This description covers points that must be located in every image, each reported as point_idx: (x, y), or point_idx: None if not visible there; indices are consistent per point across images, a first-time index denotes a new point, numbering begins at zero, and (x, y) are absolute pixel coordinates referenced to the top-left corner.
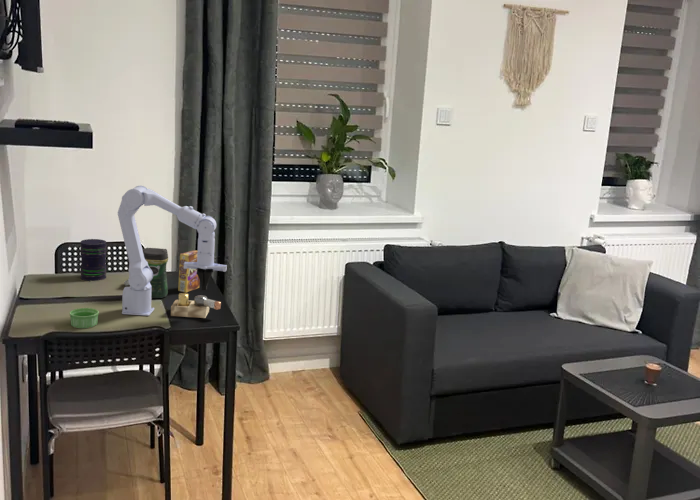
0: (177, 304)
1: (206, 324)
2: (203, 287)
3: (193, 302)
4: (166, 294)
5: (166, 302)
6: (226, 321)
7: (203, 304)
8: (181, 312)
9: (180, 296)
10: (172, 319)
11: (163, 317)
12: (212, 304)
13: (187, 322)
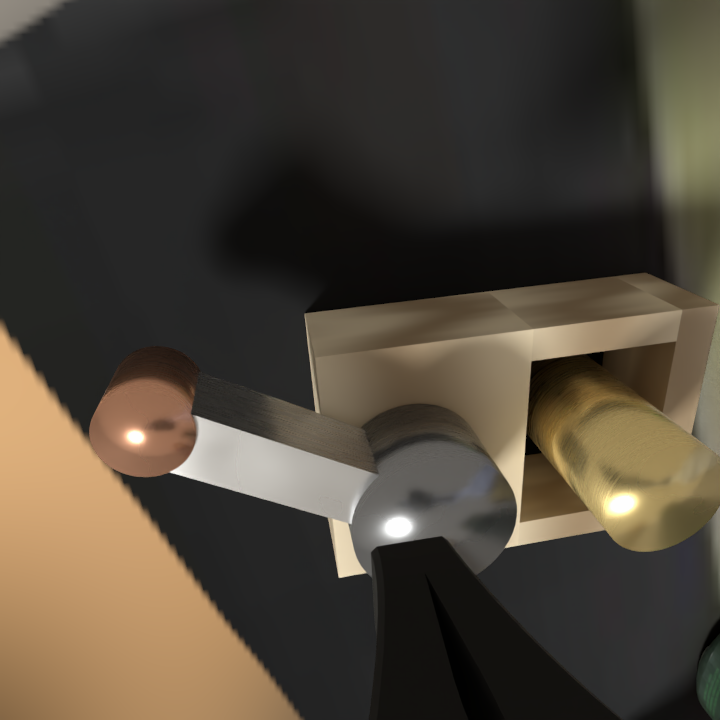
0: None
1: (224, 96)
2: (434, 573)
3: None
4: (710, 667)
5: (691, 564)
6: (34, 277)
7: (367, 435)
8: (568, 297)
9: (693, 440)
10: (622, 168)
11: (709, 205)
12: (227, 404)
13: (457, 110)
